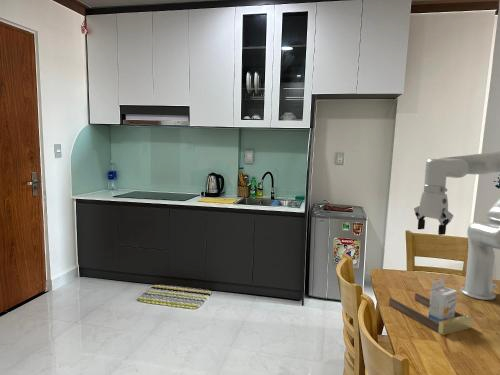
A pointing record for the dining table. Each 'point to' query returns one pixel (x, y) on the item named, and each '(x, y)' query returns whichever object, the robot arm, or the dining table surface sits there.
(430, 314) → the ink box
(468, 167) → the robot arm
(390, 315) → the dining table surface
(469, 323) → the slide guide
